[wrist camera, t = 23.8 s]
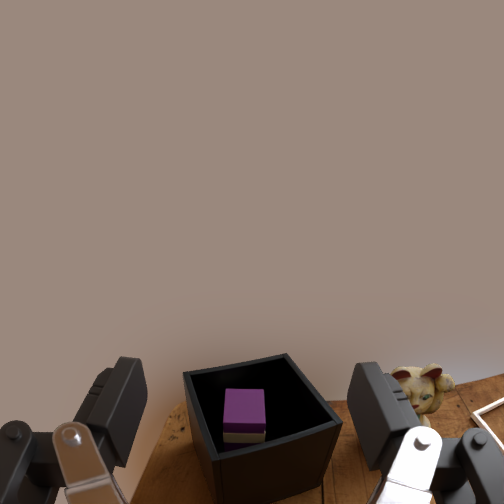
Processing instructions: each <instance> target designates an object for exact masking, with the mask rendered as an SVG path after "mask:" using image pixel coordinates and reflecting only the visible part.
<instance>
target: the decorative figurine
mask: <svg viewBox="0 0 504 504" xmlns="http://www.w3.org/2000/svg"><path fill="white" fill-rule="evenodd" d="M390 375H391V376H392V377H394V378H395V379H396V380H397V381H398V382H399V384H400V386H401V388H402V389H403V392H404V393H405V395H406V397H407V400H409V402H410V404H411V406H412V407H413V409H414V411H415V413H416V415H417V417H418V418H419V420H420V422H421V424H422V426H424V427H428V428H431V425H430V422H429V420H428V419H427V417H425V416H424V415H423V414H432V413H434V412H435V411H436V410H438V409H439V407H440V405H441V403H442V401H443V395H444V393H447V392H450V391H451V390H453V389H454V388H455V383H454V380H453V378H452V377H451V376H450V375H448V374H442V368H441V366H439V365H438V364H429V365H427V366H426V367H425V368H424V369H422V368H418V367H402V366H400V367H397V368H396V369H394V370H393V371H392V373H391V374H390Z"/></svg>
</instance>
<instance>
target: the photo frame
mask: <svg viewBox="0 0 504 504" xmlns="http://www.w3.org/2000/svg"><path fill="white" fill-rule="evenodd" d="M503 403H504V398H502V399H500V400H498V401H496V402H494V403H492V404H490V405H488V406H486V407H483V408H481V409H479V410H477V411H475V412H473V413H472V415H471V418H472V419H473V420H474V421H475V422H476V424H477V425H478V426H479V427H480V428H482V429H485V430H486V431H488V432H489V433H490V434H491V435H492V437H493V438H494V440H495V442H496V443H497V445H498V447H499V449H500V450H501V452H502V454H503V456H504V445H503V444H502V443H501V441H500V440H499V439H498V438H497V436H496V435H495V434H494V433H493V432H492V430H491V429H490V428H489V427H488V426H487V424H486V423H485V422H484V421H483V420H482V418H481V417H480V416H479V415H482V414H484V413H486V412H488V411H490V410H492V409H494V408H496V407H497V406H499V405H501V404H503Z"/></svg>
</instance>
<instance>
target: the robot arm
mask: <svg viewBox="0 0 504 504" xmlns="http://www.w3.org/2000/svg"><path fill="white" fill-rule="evenodd" d="M146 402H147V385H146V381H145V377H144V371H143V367H142V362H141V360H140V359H139V358H129V357H122V356H121V357H120V358H119V359H118V361H117V363H116V365H115V367H114V368H106V369H105V370H104V371H103V372H101V373H100V374H99V375H98V376H97V378H96V380H95V381H94V383H93V386H92V387H91V388H90V390H89V394H87V396H86V398H85V399H84V401H83V403H82V405H81V407H80V409H79V410H78V412H77V414H76V416H75V418H74V420H73V421H72V422H67V423H64V424H62V425H60V426H59V427H57V428H56V430H55V431H54V432H32V430H31V429H30V427H29V425H27V424H26V423H25V422H23V421H18V420H15V421H10V422H8V423H6V424H5V425H3V426H2V428H1V429H0V504H54V503H55V500H56V497H57V494H58V491H59V488H60V487H67V488H65V489H64V492H65V496H66V499H67V501H68V504H128V502H127V501H126V499H125V497H124V495H123V493H122V491H121V490H120V488H119V486H118V484H117V482H116V480H115V478H114V476H113V474H112V473H113V470H114V467H115V466H119V467H124V468H125V467H126V463H127V460H128V457H129V454H130V451H131V448H132V445H133V441H134V438H135V435H136V432H137V429H138V426H139V423H140V420H141V417H142V414H143V412H144V408H145V406H146ZM347 405H348V409H349V411H350V414H351V417H352V420H353V423H354V426H355V429H356V432H357V435H358V438H359V441H360V444H361V447H362V450H363V453H364V456H365V459H366V462H367V465H368V468H369V471H373V470H379V469H380V471H381V474H382V475H381V477H380V479H379V480H378V482H377V484H376V486H375V488H374V490H373V492H372V494H371V496H370V498H369V500H368V501H367V503H366V504H429V503H430V500H431V497H432V493H433V496H434V499H435V502H436V504H504V456H503V454H502V452H501V450H500V449H499V447H498V445H497V443H496V442H495V440H494V438H493V437H492V435H491V434H490V433H489V432H488V431H486V430H485V429H482V428H477V427H476V428H470V429H468V430H467V431H466V432H465V433H464V434H463V436H462V437H461V438H441V437H440V435H439V434H438V433H437V432H436V431H435V430H433V429H431V428H428V427H424V426H422V424H421V422H420V420H419V418H418V417H417V415H416V413H415V411H414V409H413V407H412V406H411V404H410V402H409V400H407V397H406V395H405V393H404V392H403V389H402V388H401V386H400V384H399V382H398V381H397V380H396V379H395V378H394V377H392V376H391V375H390V374H389V373H385V374H383V373H382V371H381V369H380V367H379V365H378V364H377V362H365V363H357V364H356V365H355V368H354V372H353V375H352V379H351V382H350V386H349V389H348V394H347ZM468 480H469V482H470V484H469V482H468ZM470 485H471V486H470ZM471 487H472V488H471ZM472 489H473V491H472ZM473 492H474V493H473ZM474 494H475V496H474Z"/></svg>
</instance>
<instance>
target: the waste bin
mask: <svg viewBox="0 0 504 504" xmlns="http://www.w3.org/2000/svg"><path fill="white" fill-rule="evenodd" d="M183 380H184V387H185V395H186V402H187V408H188V415H189V421H190V427H191V433H192V439H193V443H194V447H195V450H196V453H197V456H198V459H199V462H200V465H201V468H202V471H203V474H204V477H205V480H206V482H207V485H208V488H209V491H210V493H211V496H212V499H213V501H214V504H270V503H273V502H276V501H279V500H282V499H285V498H288V497H291V496H294V495H297V494H300V493H302V492H305V491H308V490H310V489H313V488H316V487H318V486H320V484H321V482H322V479H323V477H324V474H325V472H326V469H327V467H328V464H329V461H330V459H331V456H332V453H333V450H334V448H335V445H336V442H337V439H338V436H339V433H340V430H341V427H342V424H343V421H342V420H341V419H340V418H339V416H338V415H337V414H336V413H335V412H334V410H333V409H332V408H331V407H330V406H329V404H328V403H327V402H326V401H325V400H324V398H323V397H322V396H321V395H320V394H319V392H318V391H317V390H316V389H315V387H314V386H313V385H312V384H311V383H310V381H309V380H308V379H307V378H306V376H305V375H304V374H303V373H302V371H301V370H300V369H299V368H298V366H297V365H296V364H295V363H294V361H293V360H292V359H291V358H290V356H289V355H288V354H287V353H285V354H280V355H275V356H271V357H266V358H262V359H256V360H251V361H246V362H241V363H236V364H230V365H225V366H219V367H213V368H207V369H201V370H195V371H189V372H188V371H187V372H183ZM226 389H263V390H264V404H265V420H266V425H265V442H264V443H261V444H257V445H253V446H249V447H245V448H241V449H237V450H232V451H228V452H225V449H224V441H223V416H224V403H225V391H226Z"/></svg>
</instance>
